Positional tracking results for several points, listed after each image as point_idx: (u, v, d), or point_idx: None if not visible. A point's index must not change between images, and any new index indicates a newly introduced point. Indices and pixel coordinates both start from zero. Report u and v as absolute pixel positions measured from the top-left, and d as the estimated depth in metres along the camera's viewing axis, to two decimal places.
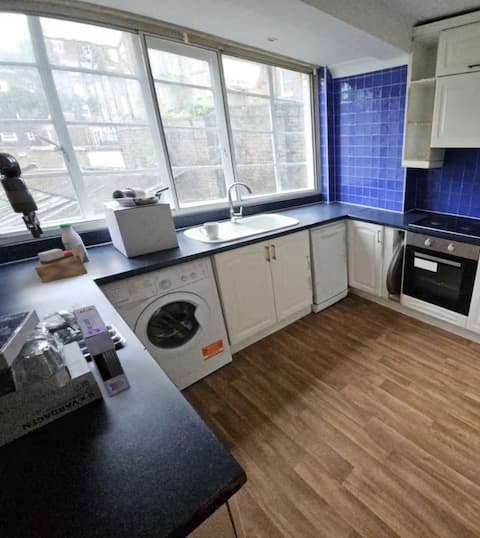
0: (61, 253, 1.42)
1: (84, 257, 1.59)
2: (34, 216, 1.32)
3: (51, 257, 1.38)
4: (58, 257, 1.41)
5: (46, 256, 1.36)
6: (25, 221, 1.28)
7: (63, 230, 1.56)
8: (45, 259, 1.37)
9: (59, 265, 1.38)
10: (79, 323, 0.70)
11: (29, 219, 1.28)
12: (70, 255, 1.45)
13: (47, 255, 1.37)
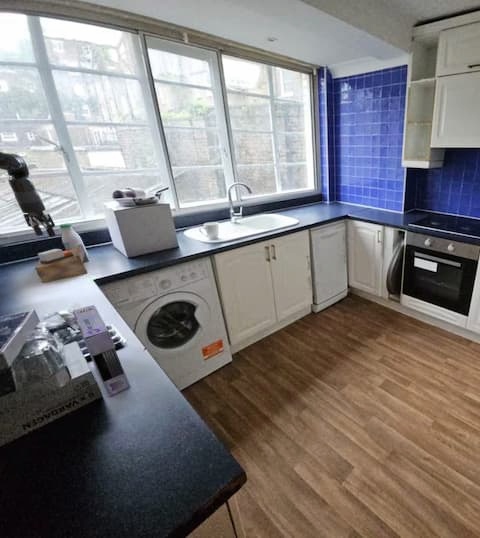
0: (61, 253, 1.42)
1: (84, 257, 1.59)
2: None
3: (51, 257, 1.38)
4: (58, 257, 1.41)
5: (46, 256, 1.36)
6: (46, 219, 1.32)
7: (63, 230, 1.56)
8: (45, 259, 1.37)
9: (59, 265, 1.38)
10: (79, 323, 0.70)
11: (49, 217, 1.33)
12: (70, 255, 1.45)
13: (47, 255, 1.37)
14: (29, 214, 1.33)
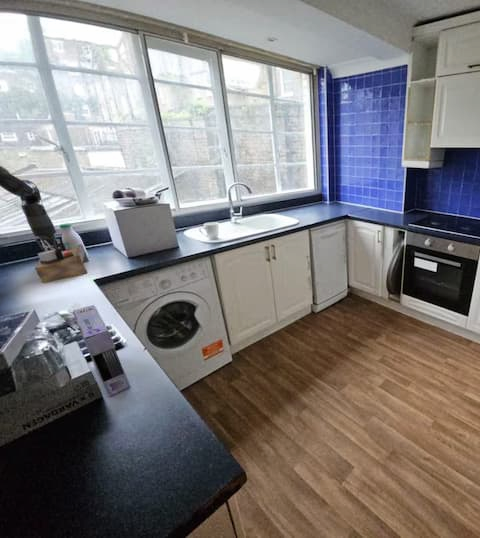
0: None
1: (84, 257, 1.59)
2: None
3: (51, 257, 1.38)
4: None
5: (46, 256, 1.36)
6: (57, 244, 1.37)
7: (63, 230, 1.56)
8: (45, 259, 1.37)
9: (59, 265, 1.38)
10: (79, 323, 0.70)
11: (60, 242, 1.38)
12: (70, 255, 1.45)
13: (47, 255, 1.37)
14: (40, 236, 1.38)
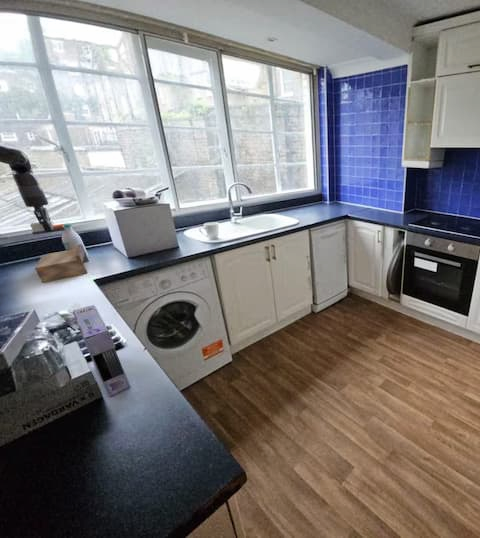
0: (50, 226, 1.40)
1: (84, 257, 1.59)
2: (45, 210, 1.38)
3: (38, 228, 1.38)
4: None
5: (32, 227, 1.37)
6: (37, 217, 1.34)
7: (63, 230, 1.56)
8: (33, 230, 1.38)
9: (59, 265, 1.38)
10: (79, 323, 0.70)
11: (41, 215, 1.35)
12: (60, 229, 1.43)
13: (34, 226, 1.37)
14: None
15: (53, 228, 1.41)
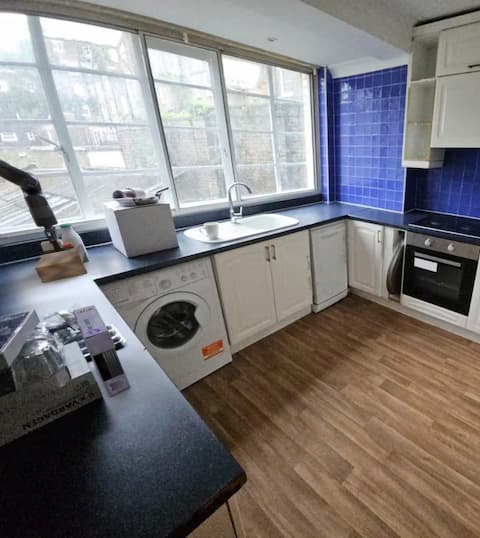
0: (59, 244, 1.45)
1: (84, 257, 1.59)
2: (54, 230, 1.42)
3: (48, 247, 1.43)
4: None
5: (43, 246, 1.41)
6: (48, 237, 1.39)
7: (63, 230, 1.56)
8: (43, 248, 1.42)
9: (59, 265, 1.38)
10: (79, 323, 0.70)
11: (51, 235, 1.39)
12: (69, 247, 1.47)
13: (44, 245, 1.41)
14: None
15: (62, 246, 1.46)
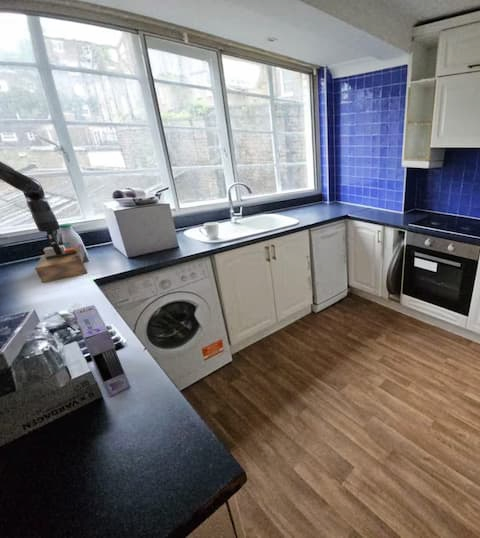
0: (62, 250, 1.46)
1: (84, 257, 1.59)
2: (56, 234, 1.43)
3: (51, 253, 1.44)
4: None
5: (45, 252, 1.42)
6: (49, 239, 1.39)
7: (63, 230, 1.56)
8: (46, 254, 1.43)
9: (59, 265, 1.38)
10: (79, 323, 0.70)
11: (52, 237, 1.39)
12: (72, 253, 1.49)
13: (47, 251, 1.43)
14: None
15: (65, 252, 1.47)
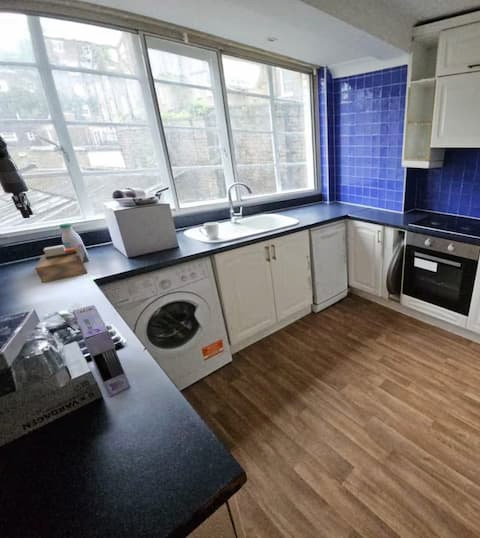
0: (62, 250, 1.46)
1: (84, 257, 1.59)
2: (24, 197, 1.36)
3: (51, 253, 1.44)
4: (58, 254, 1.46)
5: (45, 252, 1.42)
6: (14, 201, 1.32)
7: (63, 230, 1.56)
8: (46, 254, 1.43)
9: (59, 265, 1.38)
10: (79, 323, 0.70)
11: (18, 199, 1.32)
12: (72, 253, 1.49)
13: (47, 251, 1.43)
14: None
15: (65, 252, 1.47)
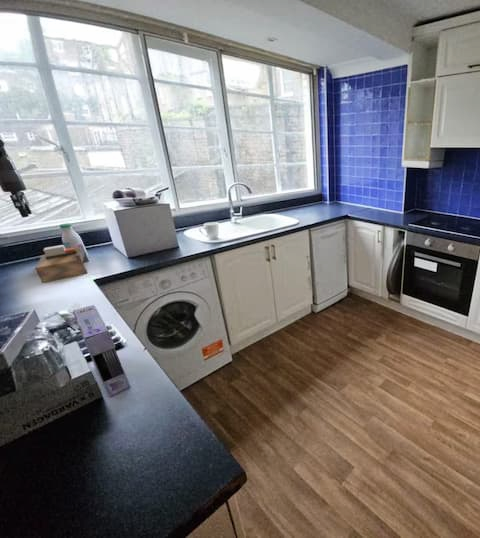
0: (62, 250, 1.46)
1: (84, 257, 1.59)
2: (22, 195, 1.36)
3: (51, 253, 1.44)
4: (58, 254, 1.46)
5: (45, 252, 1.42)
6: (13, 200, 1.31)
7: (63, 230, 1.56)
8: (46, 254, 1.43)
9: (59, 265, 1.38)
10: (79, 323, 0.70)
11: (17, 198, 1.32)
12: (72, 253, 1.49)
13: (47, 251, 1.43)
14: None
15: (65, 252, 1.47)
